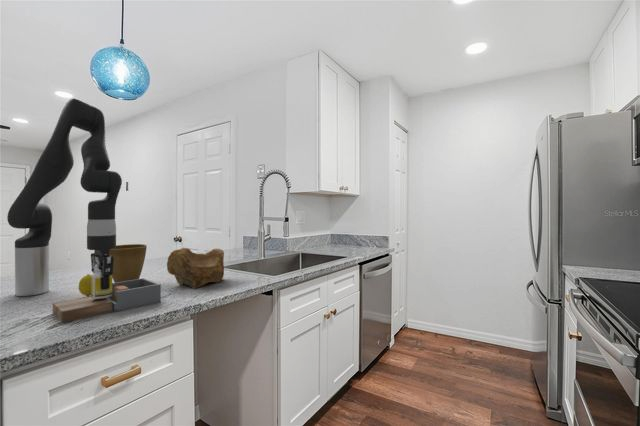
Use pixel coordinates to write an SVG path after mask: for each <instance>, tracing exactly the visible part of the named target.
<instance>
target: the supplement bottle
mask: <svg viewBox="0 0 640 426" xmlns="http://www.w3.org/2000/svg"><path fill="white" fill-rule="evenodd" d="M94 271H95V273H93V272H92V273H91V275H92V276H91V295H90V296H91V297H92V298H93V299H102V298H107V297H110V296H112V283H113V278H112V275H111V276H110V287H109V289H104V290H102V289H101V288H100V278H101V277H100V271H98V269H97V266H94ZM105 272H107V270H105Z"/></svg>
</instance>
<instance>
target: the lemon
mask: <svg viewBox="0 0 640 426" xmlns="http://www.w3.org/2000/svg"><path fill="white" fill-rule="evenodd" d="M91 276H92V274H90V273H89V274H86V275H84V276H82V277H81V278H80V280H79V283H78V291H79V292H80V294H81V295H84V296H85V297H90V296H91Z"/></svg>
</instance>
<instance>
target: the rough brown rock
mask: <svg viewBox="0 0 640 426" xmlns="http://www.w3.org/2000/svg"><path fill="white" fill-rule="evenodd" d="M224 258H225V252H224V250H223V249H221V248H213V249H211V250H210V251H208V252H206V253H196V252H193V251H192V250H191V249H189V248H188V247H181V248H179V249H175V250H173V251H171V252H170V254H169V255H168V257H167V262H166V267H167V269H166V271H167V272H168V274H170V275H172V276H174V277H175V280H176V282H177V284H179V285H181V286H184V285H186V286H189V287H190V288H192V289H197V288H199V287H203V286H204V285H206V284H208V283H220V282H221V281H222V280H223V279H224V274H225V272H224V271H225V266H224V265H225V264H224V263H225V262H224Z"/></svg>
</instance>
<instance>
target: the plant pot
mask: <svg viewBox="0 0 640 426" xmlns="http://www.w3.org/2000/svg"><path fill="white" fill-rule="evenodd" d="M147 247H148V244H141V243H133V244H132V243H131V244H129V243H128V244H119V245H118V244H116V248H114V249H110V250H109V253H110V255H111V257H112V256H113V257H114V261H113V275H112V281H113V283H117V282H123V281H129V280H136V279H140V277H141V274H142V271H143V267H144V263H145V259H146V255H147Z"/></svg>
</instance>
